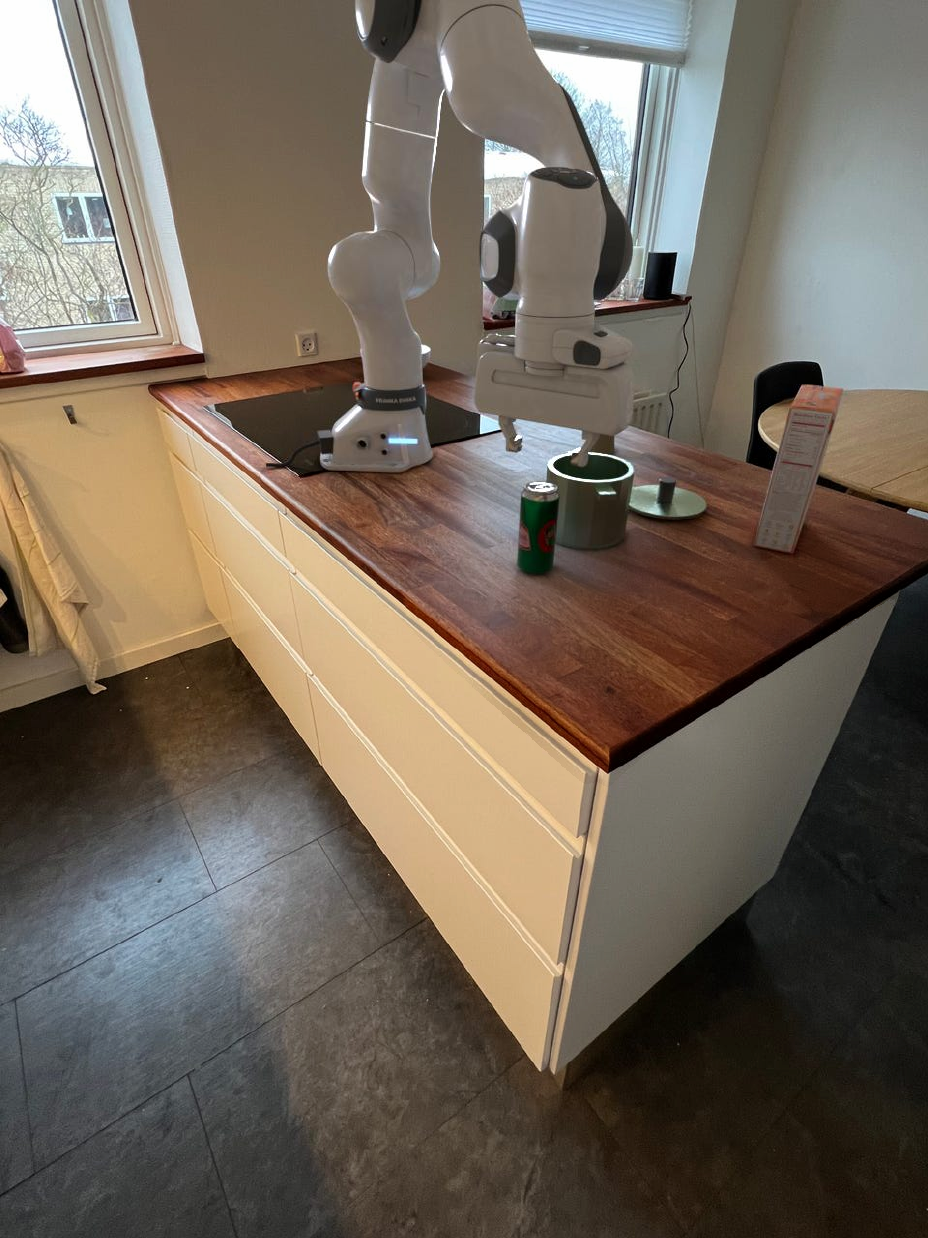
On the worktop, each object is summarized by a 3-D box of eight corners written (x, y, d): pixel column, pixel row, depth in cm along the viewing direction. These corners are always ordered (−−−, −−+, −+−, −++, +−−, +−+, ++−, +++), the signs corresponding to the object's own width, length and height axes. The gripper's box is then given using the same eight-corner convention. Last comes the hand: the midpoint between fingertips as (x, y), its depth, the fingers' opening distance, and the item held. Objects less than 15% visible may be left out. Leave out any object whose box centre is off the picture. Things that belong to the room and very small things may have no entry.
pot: (557, 560, 91) (563, 491, 85) (532, 509, 106) (536, 448, 100) (641, 555, 92) (654, 487, 86) (605, 506, 107) (613, 445, 101)
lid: (638, 525, 101) (642, 497, 98) (611, 492, 112) (615, 467, 110) (719, 521, 102) (725, 493, 100) (685, 489, 114) (690, 464, 111)
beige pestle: (614, 455, 129) (621, 400, 123) (584, 453, 130) (590, 398, 124) (614, 446, 134) (621, 392, 128) (585, 444, 135) (591, 391, 129)
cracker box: (764, 513, 105) (801, 382, 93) (803, 521, 102) (847, 387, 91) (749, 546, 95) (788, 403, 83) (792, 556, 92) (839, 410, 81)
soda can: (514, 560, 91) (518, 480, 84) (549, 558, 91) (556, 479, 85) (520, 577, 87) (524, 494, 80) (556, 576, 87) (564, 493, 80)
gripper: (463, 335, 75) (464, 449, 83) (624, 353, 66) (608, 481, 73) (492, 328, 80) (490, 437, 87) (647, 344, 70) (630, 465, 77)
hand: (545, 457), depth 80 cm, fingers open, 8 cm apart
